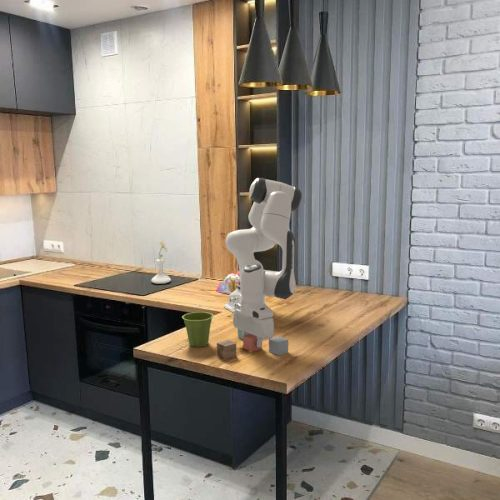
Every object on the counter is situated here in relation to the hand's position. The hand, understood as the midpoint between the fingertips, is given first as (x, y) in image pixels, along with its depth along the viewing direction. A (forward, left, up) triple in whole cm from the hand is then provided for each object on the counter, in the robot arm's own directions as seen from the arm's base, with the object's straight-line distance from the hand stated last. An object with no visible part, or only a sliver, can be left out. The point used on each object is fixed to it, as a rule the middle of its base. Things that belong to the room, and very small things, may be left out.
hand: (252, 344), depth 191 cm
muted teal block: (-11, +6, -2) cm, 13 cm away
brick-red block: (0, 0, -2) cm, 2 cm away
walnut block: (0, -12, -2) cm, 12 cm away
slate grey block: (+9, +5, -2) cm, 10 cm away
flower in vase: (-121, +29, -2) cm, 124 cm away
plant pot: (-17, -13, -2) cm, 21 cm away
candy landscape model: (-79, +52, -2) cm, 95 cm away
